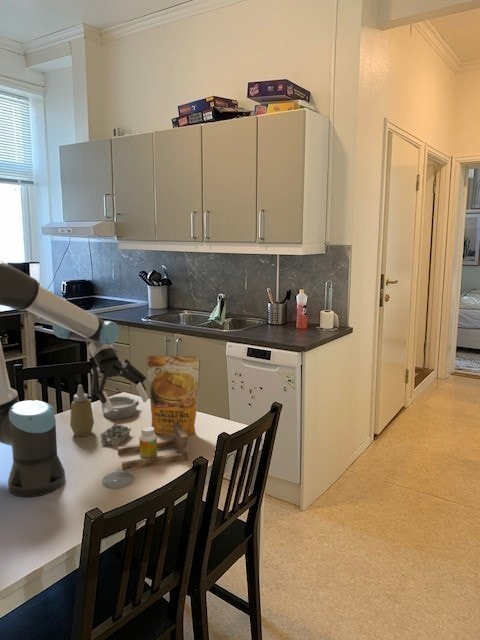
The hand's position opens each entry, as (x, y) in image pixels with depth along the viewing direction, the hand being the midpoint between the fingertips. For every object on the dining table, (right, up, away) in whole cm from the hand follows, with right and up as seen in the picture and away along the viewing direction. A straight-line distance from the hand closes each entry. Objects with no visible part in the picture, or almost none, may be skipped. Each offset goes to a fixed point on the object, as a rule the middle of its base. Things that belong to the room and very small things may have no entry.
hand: (129, 405), depth 163 cm
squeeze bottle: (-19, -12, +13) cm, 26 cm away
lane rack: (+8, -16, -4) cm, 18 cm away
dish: (-11, -9, +33) cm, 36 cm away
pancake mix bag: (+13, -12, +15) cm, 23 cm away
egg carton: (-7, -14, +8) cm, 17 cm away
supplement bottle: (+7, -16, -5) cm, 18 cm away
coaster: (+1, -18, -20) cm, 27 cm away
